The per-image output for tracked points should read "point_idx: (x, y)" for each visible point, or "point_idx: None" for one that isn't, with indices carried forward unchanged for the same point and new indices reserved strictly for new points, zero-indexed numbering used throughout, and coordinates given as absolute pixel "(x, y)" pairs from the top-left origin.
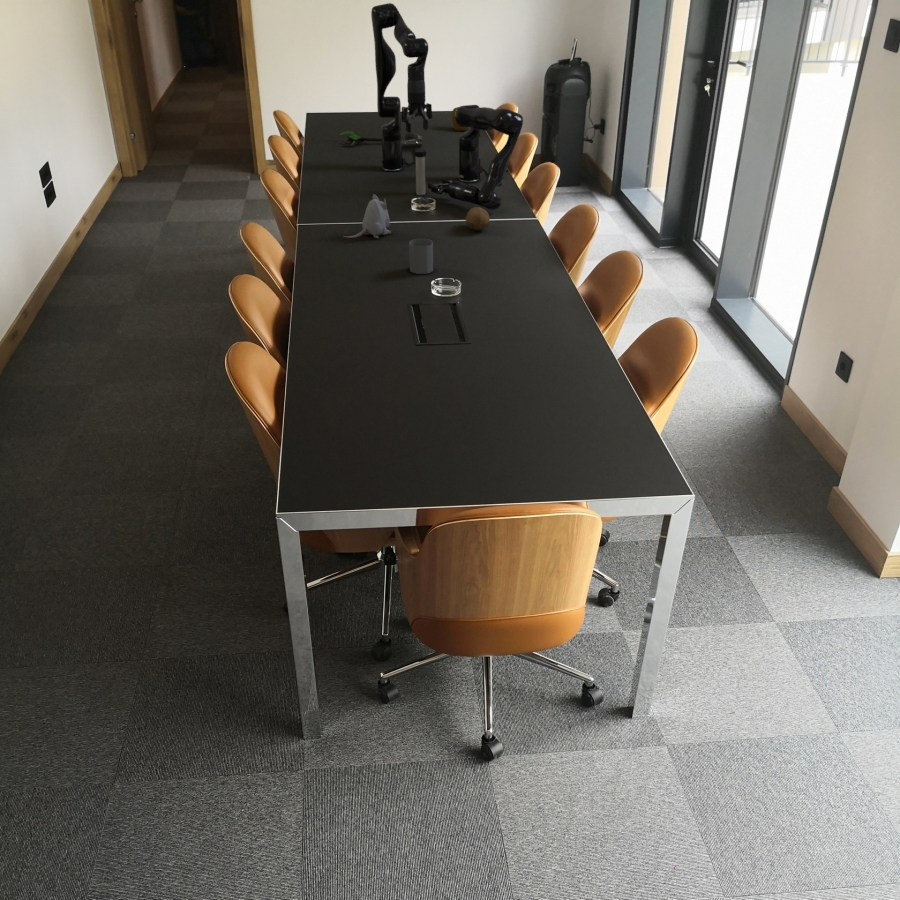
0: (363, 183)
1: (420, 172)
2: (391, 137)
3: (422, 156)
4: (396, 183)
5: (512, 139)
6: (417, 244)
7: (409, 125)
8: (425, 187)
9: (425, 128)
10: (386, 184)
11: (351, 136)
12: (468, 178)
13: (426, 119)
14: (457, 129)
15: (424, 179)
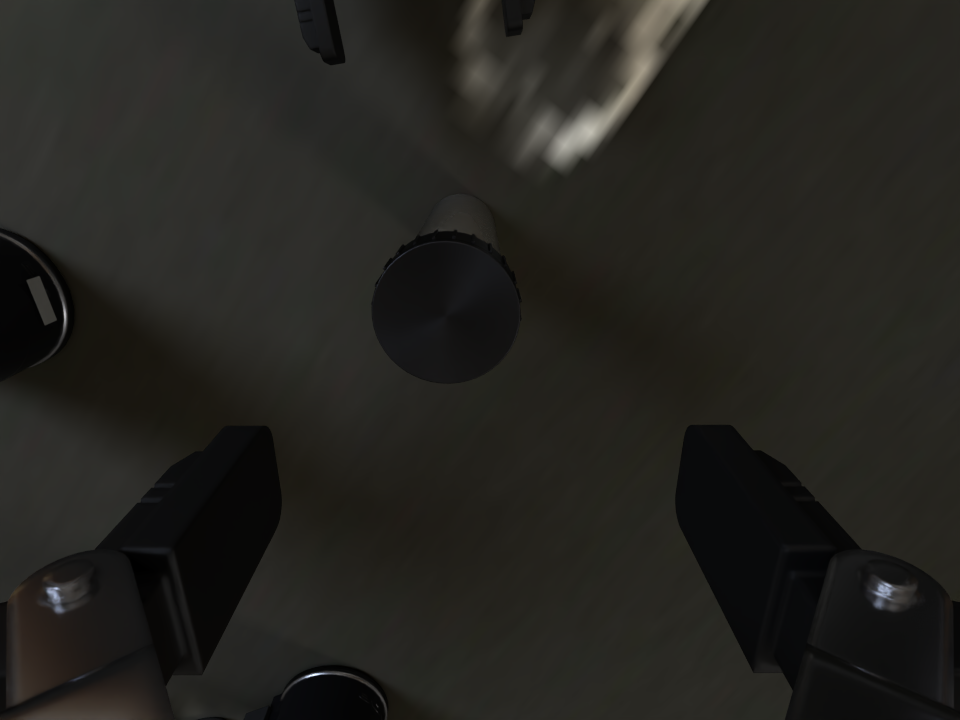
0: (617, 590)
1: (481, 223)
2: None
3: (461, 232)
4: (464, 498)
5: None
6: None
7: (805, 516)
8: (434, 208)
9: (261, 456)
10: (524, 512)
11: None
12: (4, 249)
13: (123, 584)
14: None
15: (444, 208)
